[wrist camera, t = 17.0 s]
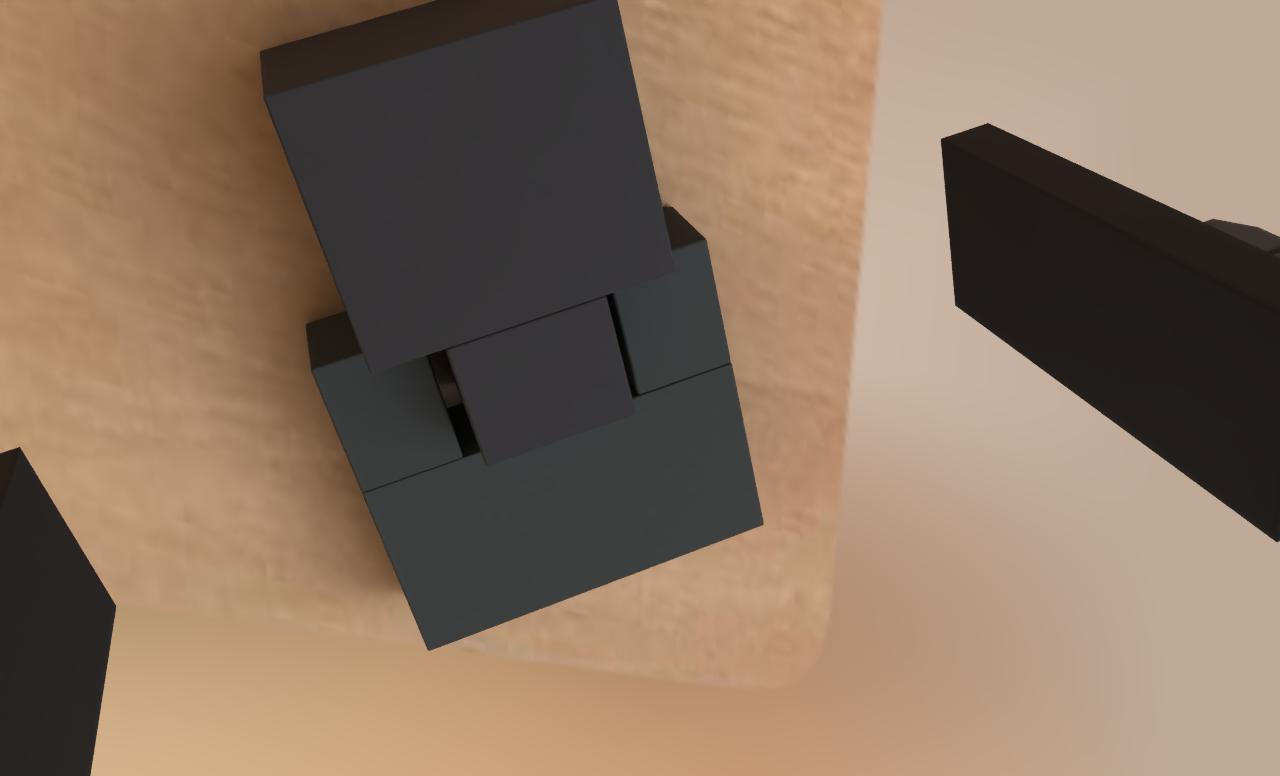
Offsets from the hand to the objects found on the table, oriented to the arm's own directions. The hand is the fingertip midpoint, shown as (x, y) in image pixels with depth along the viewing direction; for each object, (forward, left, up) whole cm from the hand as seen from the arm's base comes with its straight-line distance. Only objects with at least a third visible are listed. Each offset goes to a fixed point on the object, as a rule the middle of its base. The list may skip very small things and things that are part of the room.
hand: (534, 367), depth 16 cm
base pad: (-1, +10, -17) cm, 20 cm away
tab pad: (-1, +3, -17) cm, 17 cm away
